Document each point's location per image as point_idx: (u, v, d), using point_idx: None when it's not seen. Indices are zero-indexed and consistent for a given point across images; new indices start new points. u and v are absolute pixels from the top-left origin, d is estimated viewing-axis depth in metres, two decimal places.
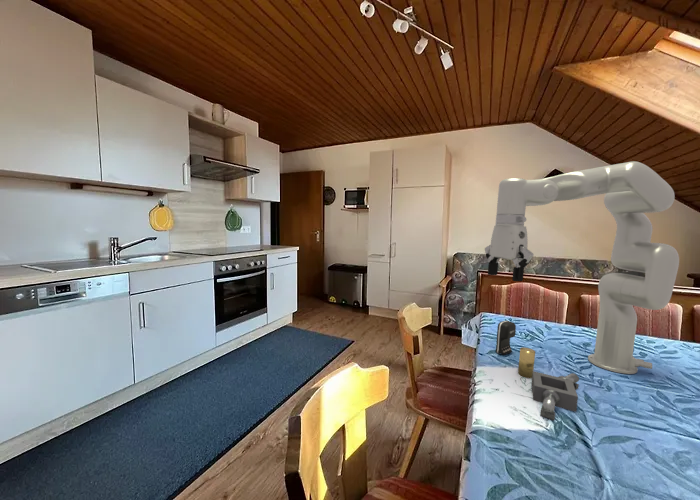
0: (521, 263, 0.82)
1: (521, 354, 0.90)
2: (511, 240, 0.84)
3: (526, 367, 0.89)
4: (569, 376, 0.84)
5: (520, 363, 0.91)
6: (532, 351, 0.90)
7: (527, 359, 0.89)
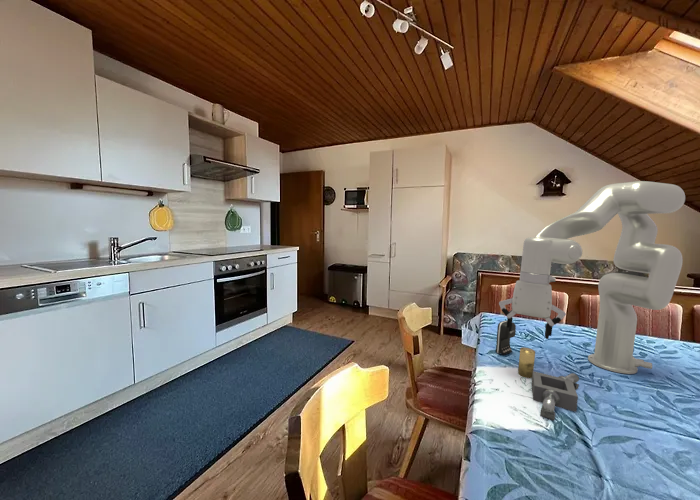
0: (555, 322, 0.86)
1: (521, 354, 0.90)
2: (546, 300, 0.85)
3: (526, 367, 0.89)
4: (569, 376, 0.84)
5: (520, 363, 0.91)
6: (532, 351, 0.90)
7: (527, 359, 0.89)
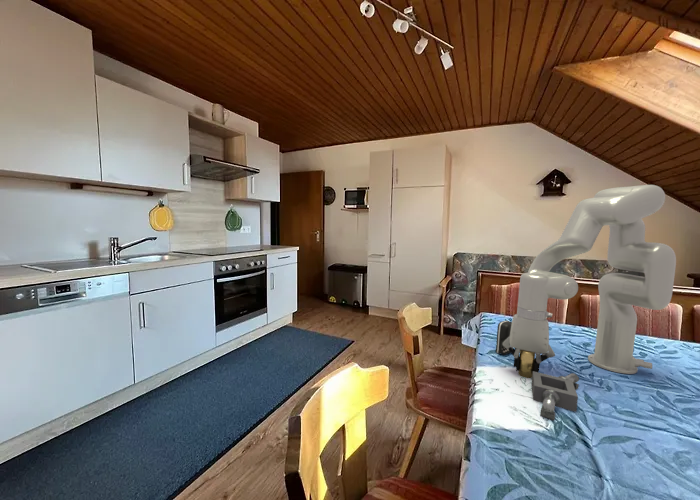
0: (542, 359, 0.88)
1: (521, 354, 0.90)
2: (544, 336, 0.86)
3: (526, 367, 0.89)
4: (569, 376, 0.84)
5: (520, 363, 0.91)
6: None
7: (527, 359, 0.89)
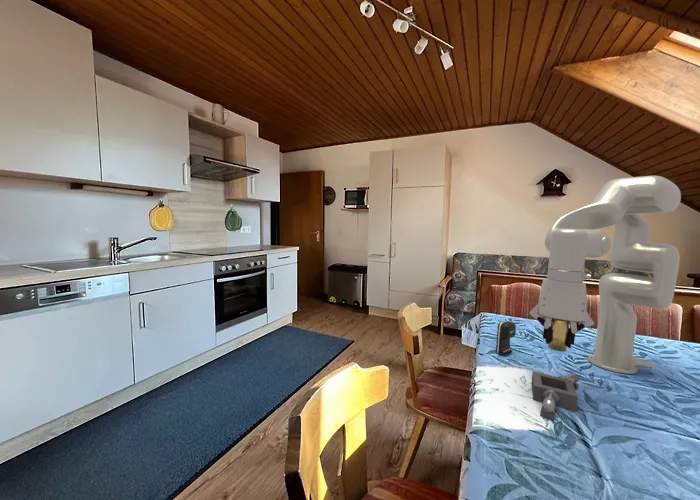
0: (578, 328, 0.75)
1: (553, 324, 0.77)
2: (581, 301, 0.73)
3: (559, 339, 0.76)
4: (569, 376, 0.84)
5: (551, 334, 0.78)
6: None
7: (560, 329, 0.76)
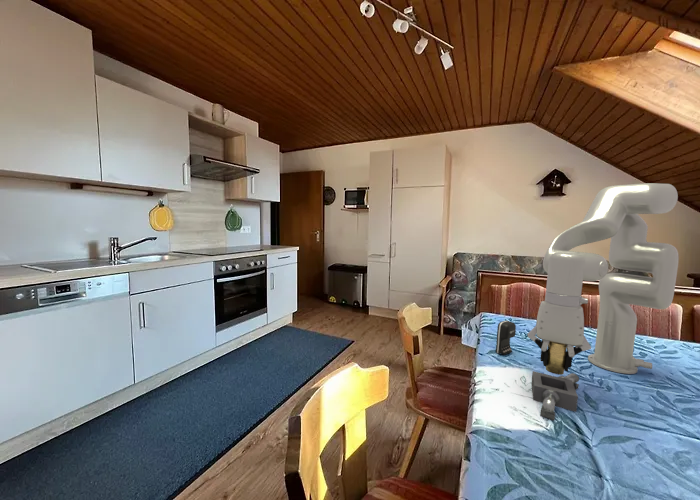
0: (575, 352, 0.76)
1: (550, 346, 0.78)
2: (578, 325, 0.74)
3: (557, 362, 0.77)
4: (569, 376, 0.84)
5: (549, 357, 0.78)
6: None
7: (557, 352, 0.77)
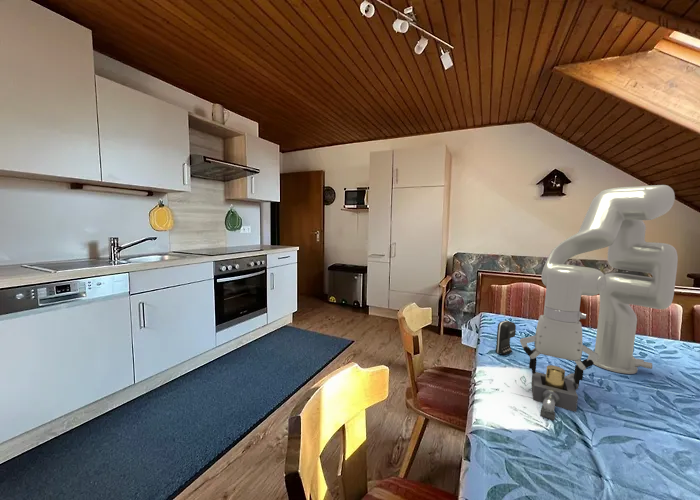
0: (586, 365, 0.75)
1: (548, 373, 0.79)
2: (576, 340, 0.74)
3: None
4: (569, 376, 0.84)
5: (547, 384, 0.79)
6: (561, 370, 0.78)
7: (556, 379, 0.77)
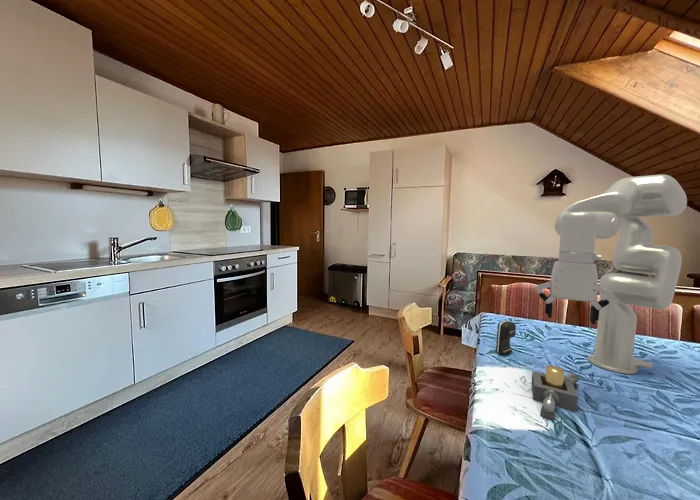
0: (602, 305, 0.77)
1: (548, 373, 0.79)
2: (592, 281, 0.76)
3: None
4: (569, 376, 0.84)
5: (547, 384, 0.79)
6: (561, 370, 0.78)
7: (555, 379, 0.77)
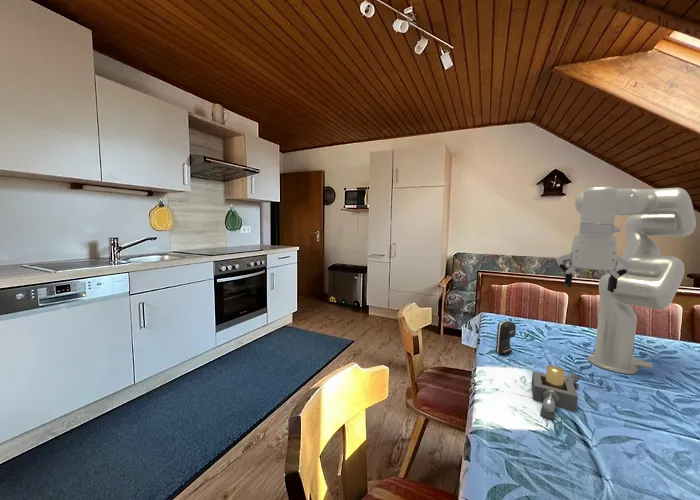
0: (620, 274, 0.82)
1: (548, 373, 0.79)
2: (611, 251, 0.81)
3: None
4: (569, 376, 0.84)
5: (547, 384, 0.79)
6: (561, 370, 0.78)
7: (556, 379, 0.77)
